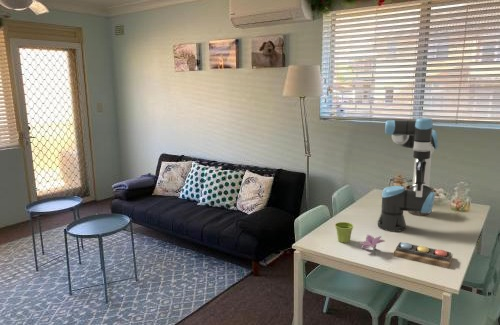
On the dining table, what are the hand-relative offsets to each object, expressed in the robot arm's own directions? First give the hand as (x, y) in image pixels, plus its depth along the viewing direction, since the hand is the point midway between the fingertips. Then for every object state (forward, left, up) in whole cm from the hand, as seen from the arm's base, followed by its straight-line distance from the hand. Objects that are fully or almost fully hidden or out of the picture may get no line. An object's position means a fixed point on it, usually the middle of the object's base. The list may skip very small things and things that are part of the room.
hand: (418, 196), depth 186 cm
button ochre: (+6, -16, -22) cm, 28 cm away
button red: (+14, -16, -22) cm, 30 cm away
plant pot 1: (-32, -17, -25) cm, 44 cm away
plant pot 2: (-8, +49, -25) cm, 55 cm away
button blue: (-2, -16, -22) cm, 27 cm away
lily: (-16, -22, -25) cm, 37 cm away
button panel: (+6, -16, -24) cm, 30 cm away
